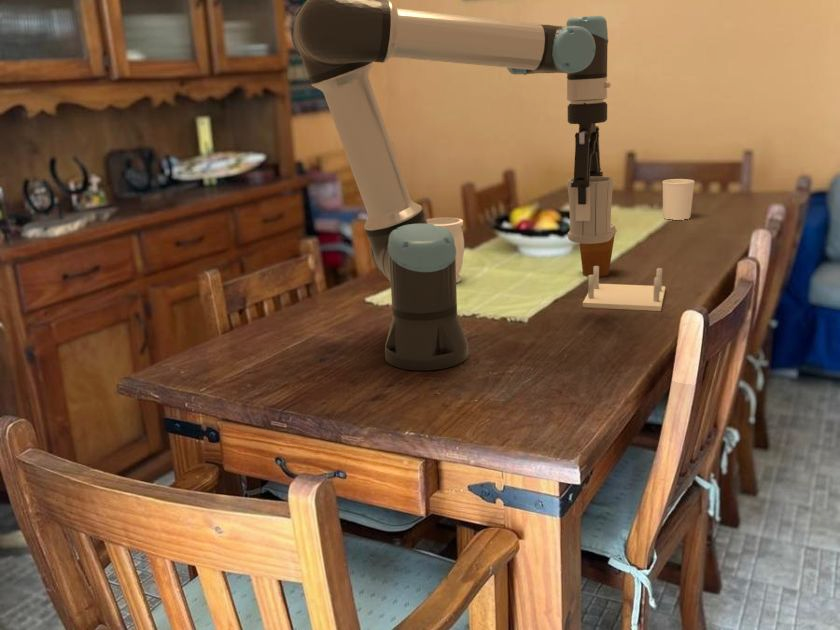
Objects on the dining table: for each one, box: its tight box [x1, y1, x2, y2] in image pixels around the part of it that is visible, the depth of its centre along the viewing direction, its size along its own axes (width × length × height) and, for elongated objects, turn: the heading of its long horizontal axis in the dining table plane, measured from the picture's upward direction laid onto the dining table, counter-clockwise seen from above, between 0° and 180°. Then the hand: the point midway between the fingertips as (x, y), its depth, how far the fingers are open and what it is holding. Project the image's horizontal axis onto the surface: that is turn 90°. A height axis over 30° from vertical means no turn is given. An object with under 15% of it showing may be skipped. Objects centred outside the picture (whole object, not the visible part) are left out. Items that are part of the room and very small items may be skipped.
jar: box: [426, 216, 465, 284], centre depth 197 cm, size 11×10×15 cm
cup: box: [566, 175, 614, 244], centre depth 161 cm, size 10×9×12 cm
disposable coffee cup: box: [578, 223, 618, 278], centre depth 197 cm, size 10×10×12 cm
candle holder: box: [661, 178, 695, 221], centre depth 260 cm, size 10×10×12 cm
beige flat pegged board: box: [582, 266, 666, 312], centre depth 176 cm, size 16×16×6 cm
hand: (587, 214), depth 162 cm, fingers closed on cup, 11 cm apart
